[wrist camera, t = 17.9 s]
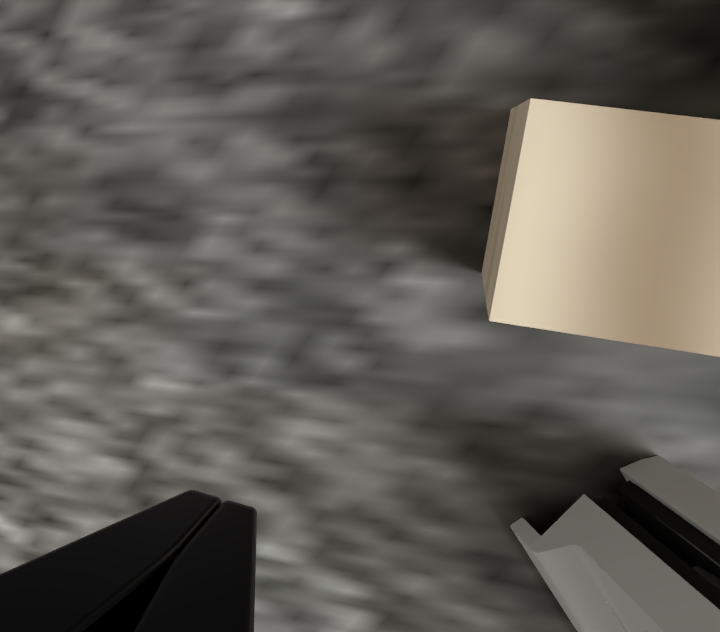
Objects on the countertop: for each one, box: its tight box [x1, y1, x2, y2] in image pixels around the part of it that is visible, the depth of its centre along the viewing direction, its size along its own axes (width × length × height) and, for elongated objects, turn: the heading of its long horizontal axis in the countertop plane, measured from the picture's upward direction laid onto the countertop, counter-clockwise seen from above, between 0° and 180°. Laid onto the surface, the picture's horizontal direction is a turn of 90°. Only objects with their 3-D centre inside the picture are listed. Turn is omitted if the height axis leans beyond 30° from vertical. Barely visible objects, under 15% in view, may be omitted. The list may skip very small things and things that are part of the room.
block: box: [482, 98, 720, 357], centre depth 15 cm, size 7×4×5 cm, turn 84°
